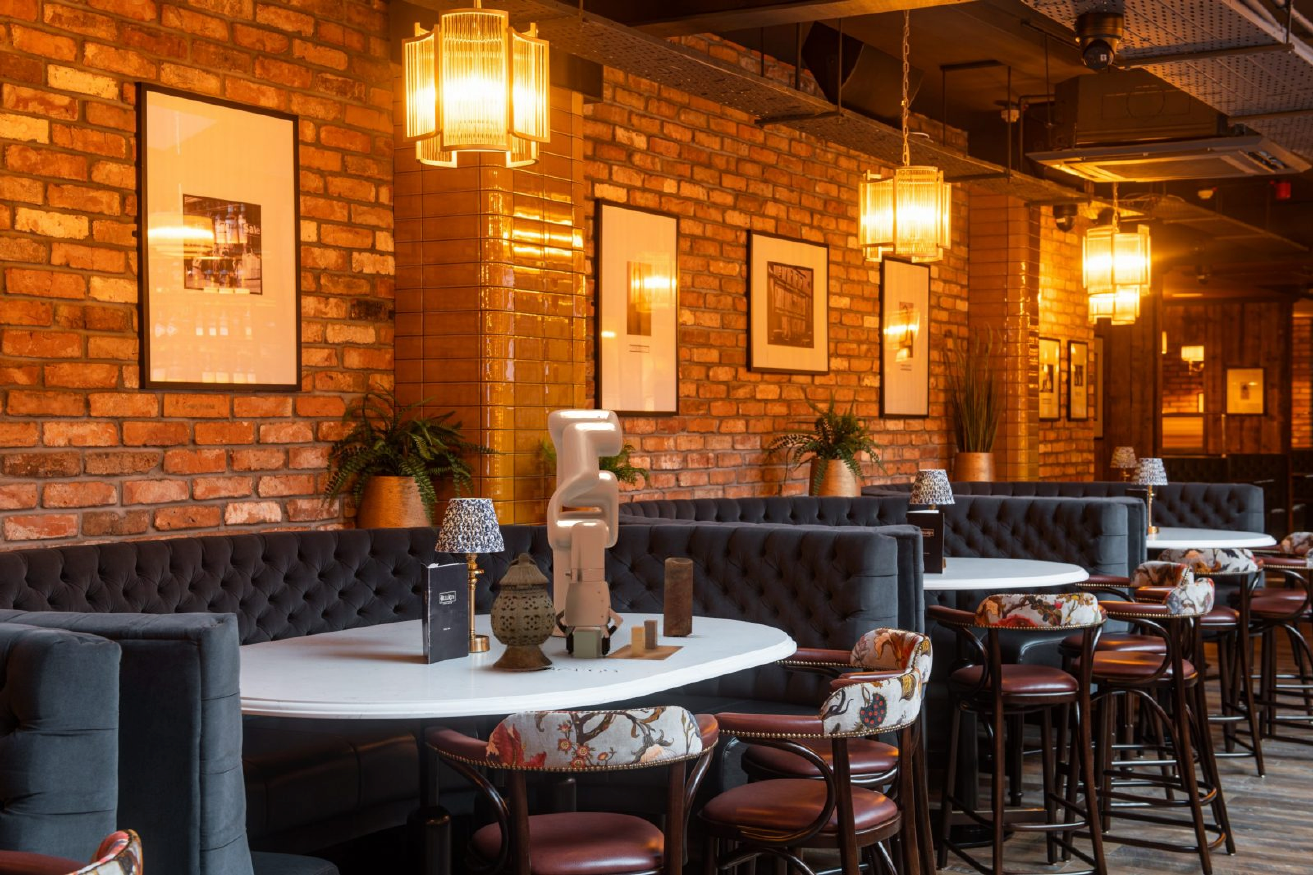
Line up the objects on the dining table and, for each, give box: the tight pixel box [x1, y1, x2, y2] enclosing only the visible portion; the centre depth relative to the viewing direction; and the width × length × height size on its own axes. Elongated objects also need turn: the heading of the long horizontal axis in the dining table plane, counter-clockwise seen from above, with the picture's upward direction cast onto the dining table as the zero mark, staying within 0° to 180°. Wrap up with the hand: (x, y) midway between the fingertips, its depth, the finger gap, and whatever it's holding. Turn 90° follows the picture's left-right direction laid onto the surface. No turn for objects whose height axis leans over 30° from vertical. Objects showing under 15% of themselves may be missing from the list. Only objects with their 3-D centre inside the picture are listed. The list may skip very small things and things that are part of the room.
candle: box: [662, 557, 694, 638], centre depth 348 cm, size 8×7×20 cm
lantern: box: [490, 552, 556, 673], centre depth 302 cm, size 14×14×25 cm
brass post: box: [630, 625, 645, 657], centre depth 312 cm, size 3×3×6 cm
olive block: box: [573, 628, 603, 659], centre depth 312 cm, size 5×5×7 cm
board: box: [602, 643, 685, 661], centre depth 318 cm, size 14×22×1 cm, turn 166°
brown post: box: [643, 619, 658, 649], centre depth 324 cm, size 3×3×6 cm
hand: (588, 653), depth 312 cm, fingers open, 7 cm apart
